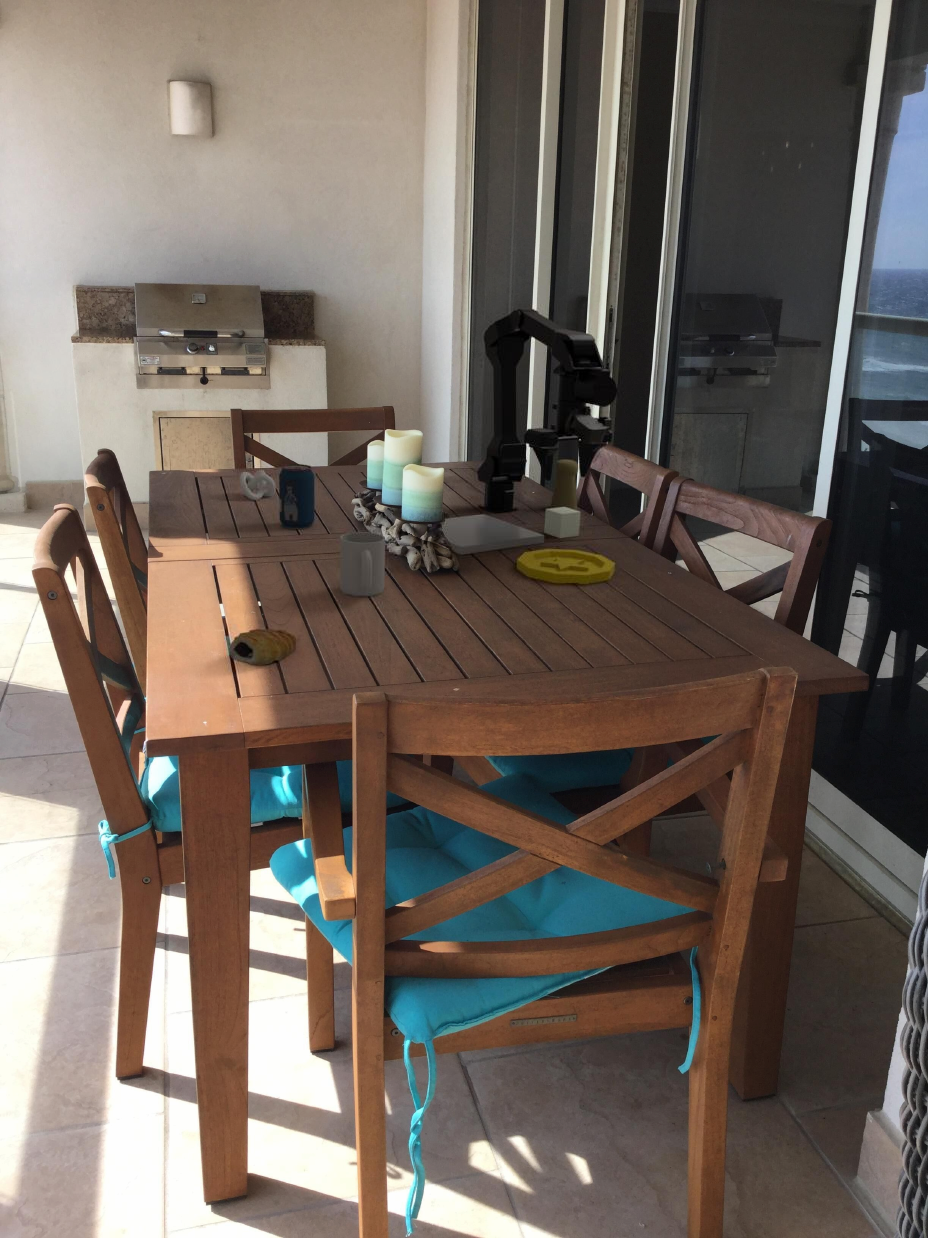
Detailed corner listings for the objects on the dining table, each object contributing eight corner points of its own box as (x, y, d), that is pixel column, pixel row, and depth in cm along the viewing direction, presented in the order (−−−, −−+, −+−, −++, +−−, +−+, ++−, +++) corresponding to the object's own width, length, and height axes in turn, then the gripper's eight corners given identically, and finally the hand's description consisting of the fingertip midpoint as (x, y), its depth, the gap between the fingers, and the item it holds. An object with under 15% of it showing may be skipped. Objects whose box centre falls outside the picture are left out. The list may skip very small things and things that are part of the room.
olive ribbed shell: (273, 640, 148) (273, 615, 147) (309, 652, 144) (309, 626, 143) (224, 659, 140) (223, 632, 139) (260, 671, 137) (260, 644, 136)
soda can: (311, 521, 215) (310, 463, 211) (317, 529, 209) (317, 469, 205) (277, 522, 213) (276, 463, 209) (282, 530, 206) (281, 470, 203)
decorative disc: (547, 554, 200) (548, 544, 199) (630, 572, 190) (631, 561, 189) (498, 572, 186) (499, 561, 186) (585, 592, 177) (586, 580, 176)
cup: (381, 583, 175) (382, 531, 173) (389, 601, 166) (390, 547, 163) (337, 584, 174) (338, 532, 171) (344, 603, 165) (344, 548, 162)
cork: (576, 506, 239) (580, 458, 236) (576, 512, 233) (580, 463, 230) (550, 504, 240) (553, 456, 236) (549, 510, 234) (553, 461, 230)
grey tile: (403, 531, 210) (403, 523, 210) (483, 520, 221) (483, 514, 221) (460, 554, 195) (461, 546, 194) (543, 542, 206) (544, 535, 206)
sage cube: (544, 533, 214) (545, 509, 213) (562, 530, 217) (564, 506, 215) (560, 538, 210) (561, 514, 209) (578, 535, 213) (580, 511, 212)
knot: (234, 494, 236) (233, 468, 234) (269, 492, 239) (268, 467, 237) (242, 501, 229) (241, 475, 228) (278, 499, 233) (277, 473, 231)
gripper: (562, 407, 194) (556, 490, 199) (635, 403, 204) (627, 482, 209) (524, 399, 202) (519, 479, 207) (596, 396, 213) (589, 472, 218)
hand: (565, 478), depth 210 cm, fingers open, 9 cm apart
